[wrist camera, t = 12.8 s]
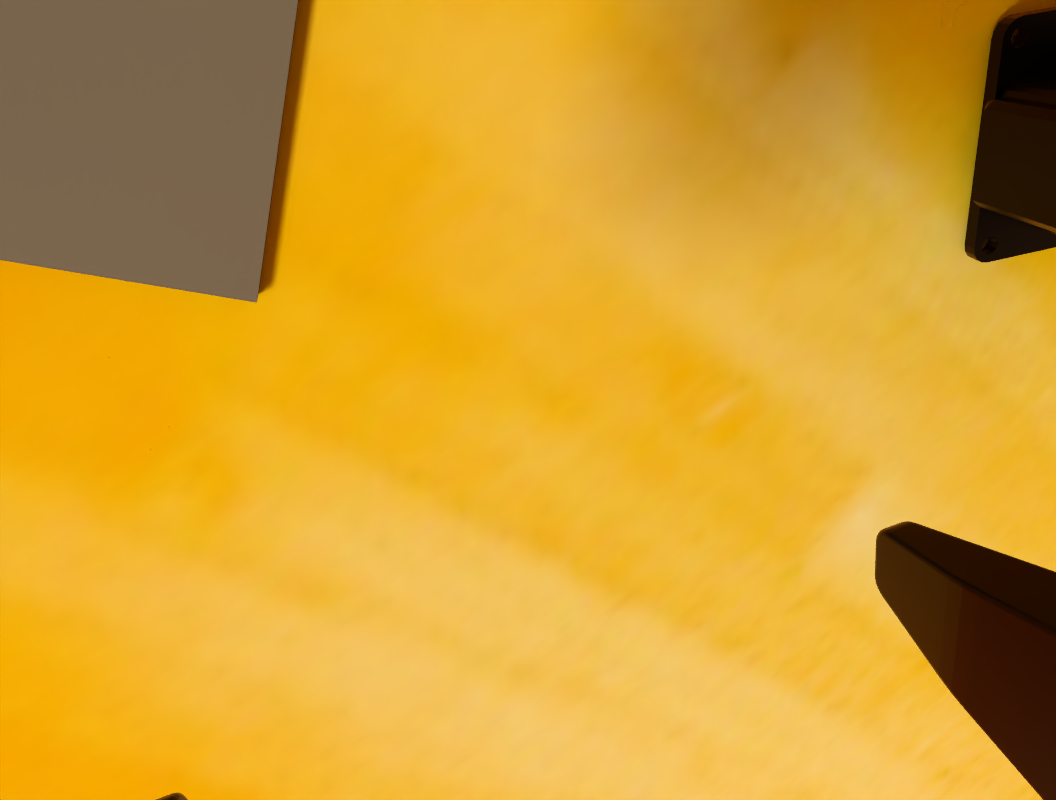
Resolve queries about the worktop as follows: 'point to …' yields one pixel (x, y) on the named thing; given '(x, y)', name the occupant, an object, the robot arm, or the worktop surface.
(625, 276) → the worktop surface
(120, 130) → the mat
